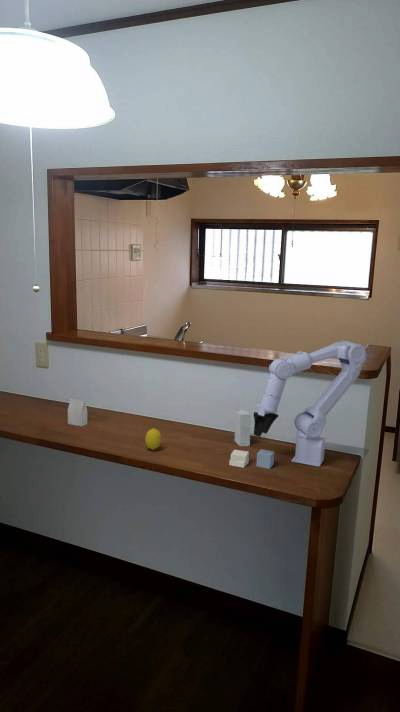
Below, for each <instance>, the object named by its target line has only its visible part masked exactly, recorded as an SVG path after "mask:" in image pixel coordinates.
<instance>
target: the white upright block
mask: <svg viewBox="0 0 400 712" xmlns="http://www.w3.org/2000/svg"><path fill="white" fill-rule="evenodd" d="M67 424H68V425H73V426H76V427H77V426H79V427H84V426H86V425H88V408H87V403H86V401H85V400H83V399H82V400H81V399H76V398H70V400H69V404H68V407H67Z"/></svg>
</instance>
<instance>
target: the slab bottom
mask: <svg viewBox="0 0 400 712" xmlns="http://www.w3.org/2000/svg"><path fill="white" fill-rule="evenodd" d="M249 463H250V457H249V458H248V459H247V461H246V462H238V461H231V458H230V459H229V466H233V467H239V468H243V469H244V468H245V467H246V466H247V465H248V464H249Z"/></svg>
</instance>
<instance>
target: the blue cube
mask: <svg viewBox="0 0 400 712" xmlns="http://www.w3.org/2000/svg"><path fill="white" fill-rule="evenodd" d="M274 459H275V451H273V450H268V449H263V448H261V449H260V450H259V451H258V452H257V453H256V467H259V468H263V469H268V470H270V469H272V466H274V462H275V461H274Z"/></svg>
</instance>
